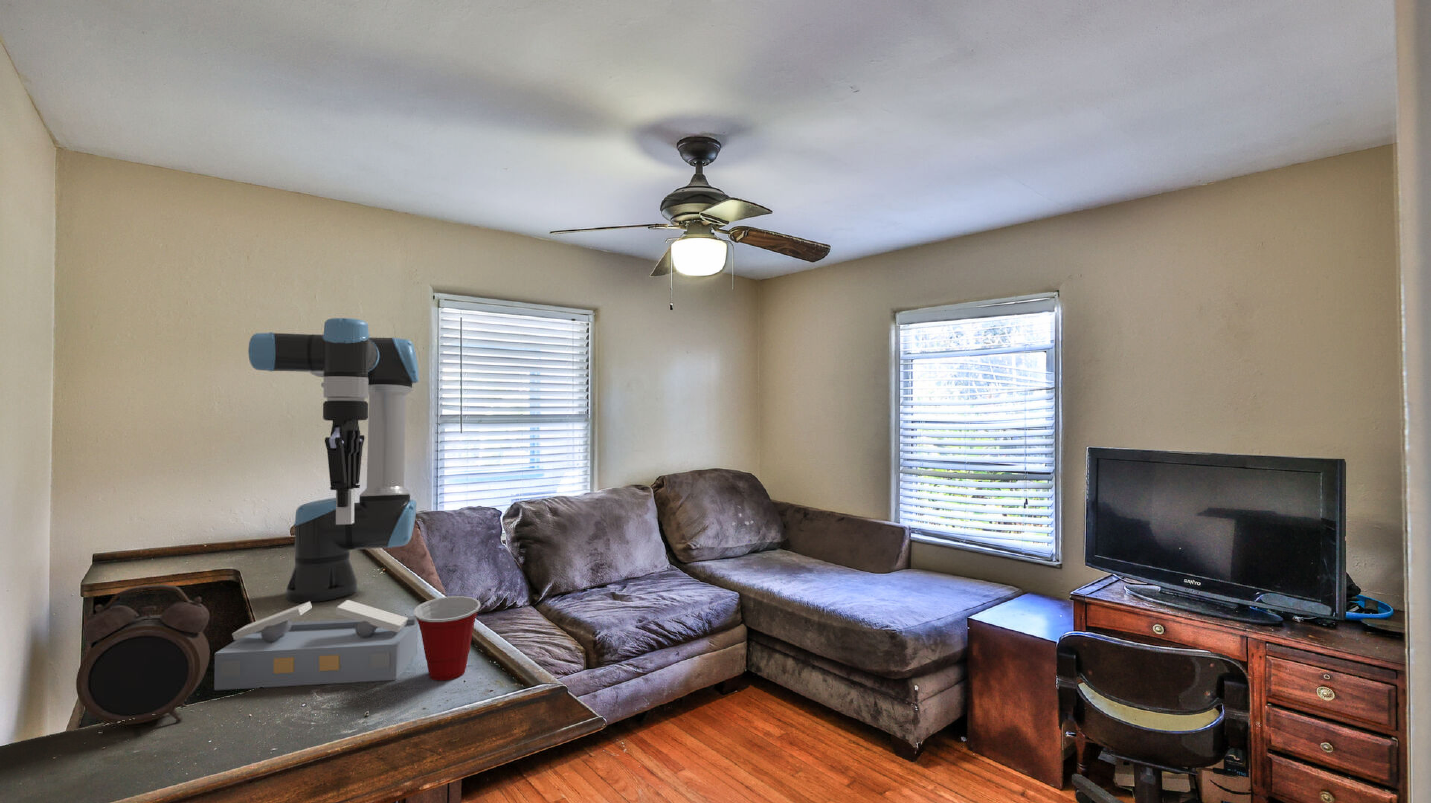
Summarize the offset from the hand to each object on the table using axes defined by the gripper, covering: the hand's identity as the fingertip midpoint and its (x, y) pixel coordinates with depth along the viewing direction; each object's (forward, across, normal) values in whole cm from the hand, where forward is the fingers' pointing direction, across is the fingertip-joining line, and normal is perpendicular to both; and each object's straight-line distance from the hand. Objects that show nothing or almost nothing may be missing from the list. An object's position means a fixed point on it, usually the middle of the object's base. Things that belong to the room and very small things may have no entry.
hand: (345, 523), depth 125 cm
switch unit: (+24, +10, 0) cm, 26 cm away
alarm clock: (+25, +26, -17) cm, 40 cm away
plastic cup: (+25, +15, +22) cm, 36 cm away
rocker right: (+18, +10, +7) cm, 22 cm away
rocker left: (+18, +10, -7) cm, 21 cm away
